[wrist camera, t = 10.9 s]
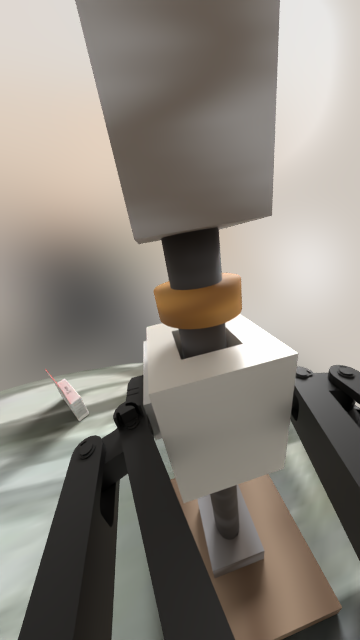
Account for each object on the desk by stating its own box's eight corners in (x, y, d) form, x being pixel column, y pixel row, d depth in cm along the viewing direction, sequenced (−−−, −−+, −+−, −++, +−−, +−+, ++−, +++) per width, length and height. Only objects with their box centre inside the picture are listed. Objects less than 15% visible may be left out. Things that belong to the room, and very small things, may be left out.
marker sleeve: (183, 503, 9) (148, 394, 6) (169, 410, 15) (146, 327, 12) (284, 468, 10) (298, 353, 7) (234, 391, 16) (230, 307, 12)
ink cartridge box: (72, 393, 46) (56, 362, 42) (90, 414, 39) (72, 380, 35) (62, 399, 44) (44, 369, 40) (79, 422, 37) (58, 388, 33)
